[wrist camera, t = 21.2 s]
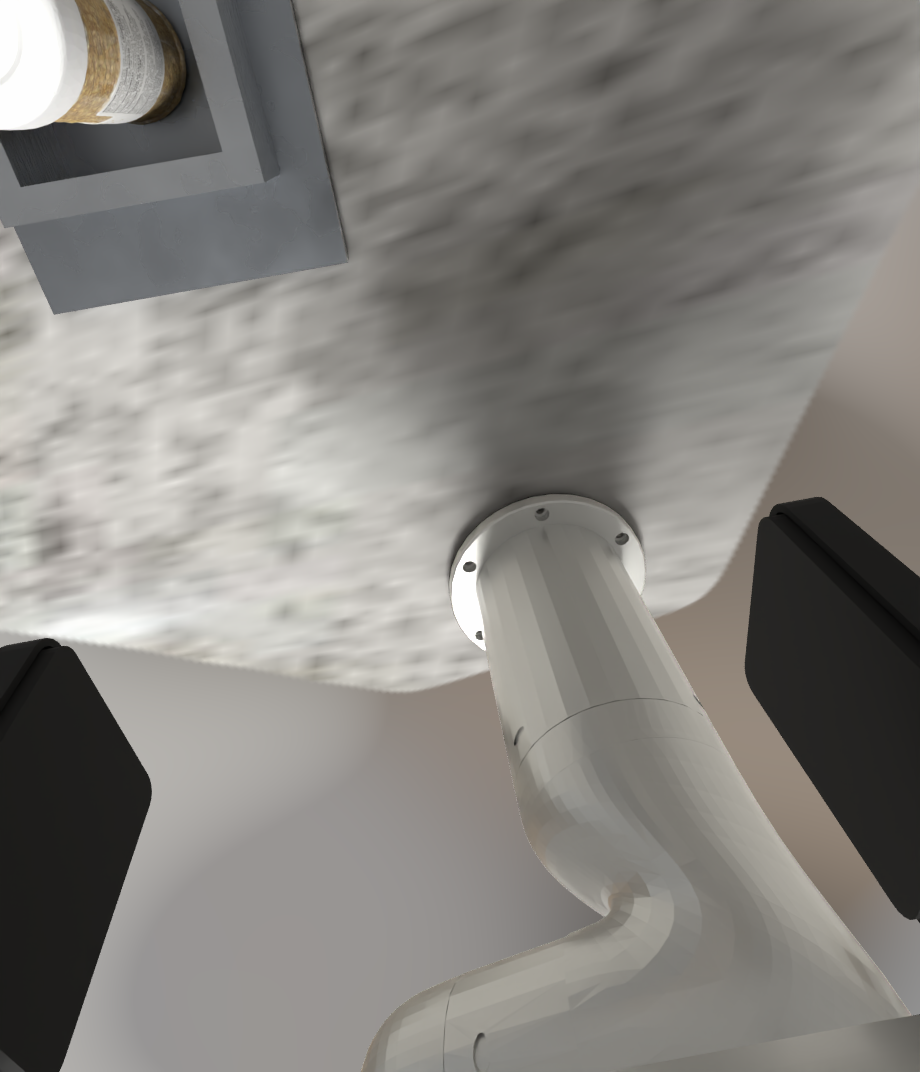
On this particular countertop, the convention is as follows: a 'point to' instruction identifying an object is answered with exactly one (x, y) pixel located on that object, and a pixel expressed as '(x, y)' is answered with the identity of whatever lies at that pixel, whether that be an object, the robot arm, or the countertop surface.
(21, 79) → the sprinkles bottle
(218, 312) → the countertop surface
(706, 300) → the countertop surface
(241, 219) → the dock
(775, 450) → the countertop surface
